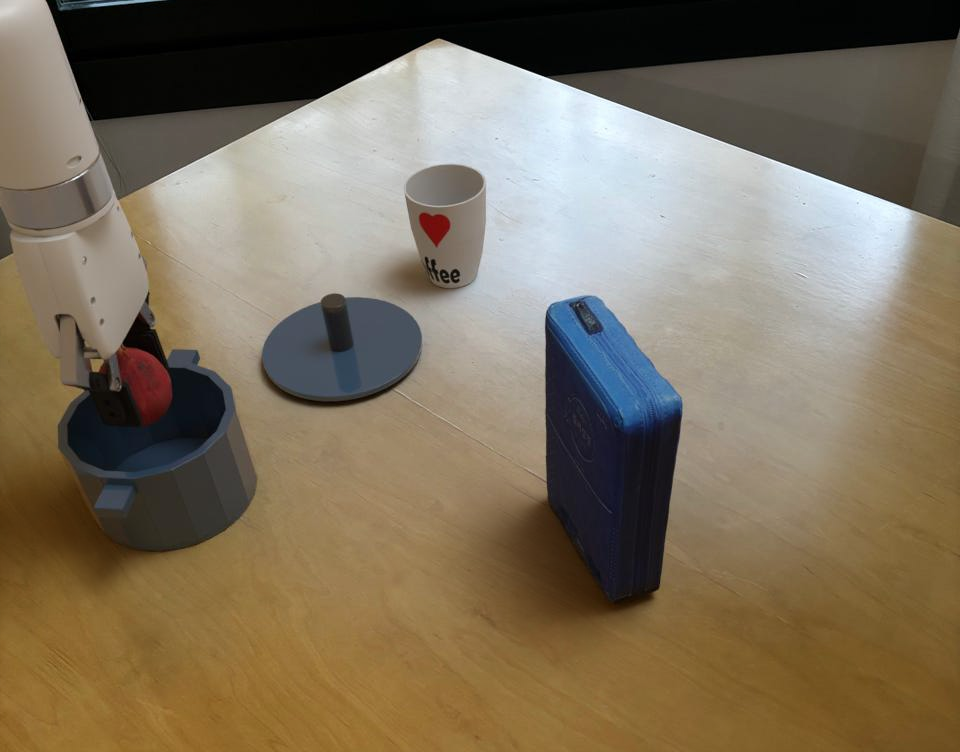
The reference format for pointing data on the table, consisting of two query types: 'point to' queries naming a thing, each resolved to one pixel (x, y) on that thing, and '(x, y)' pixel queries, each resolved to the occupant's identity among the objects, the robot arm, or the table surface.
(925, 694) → the table surface
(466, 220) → the cup
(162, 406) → the red pomegranate
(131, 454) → the pot
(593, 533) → the blue case
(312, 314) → the lid
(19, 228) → the robot arm
